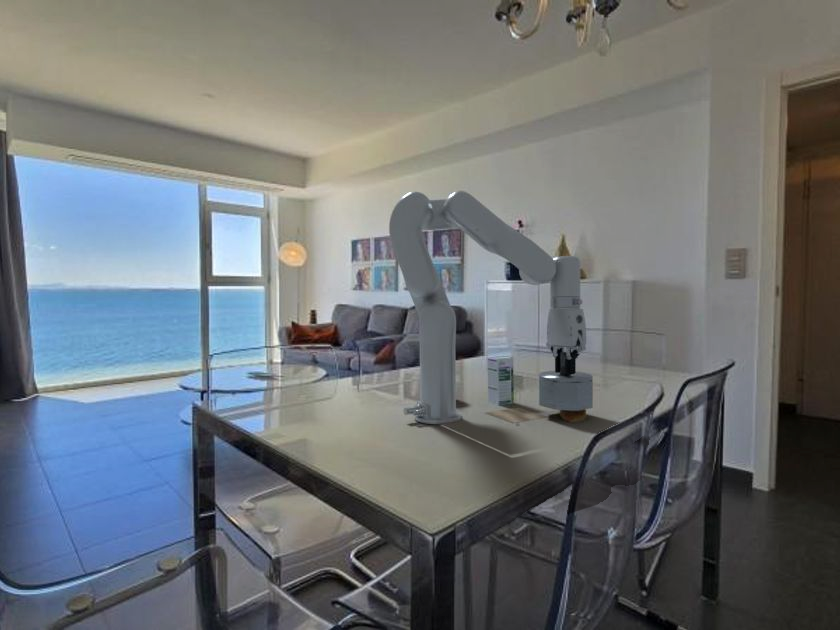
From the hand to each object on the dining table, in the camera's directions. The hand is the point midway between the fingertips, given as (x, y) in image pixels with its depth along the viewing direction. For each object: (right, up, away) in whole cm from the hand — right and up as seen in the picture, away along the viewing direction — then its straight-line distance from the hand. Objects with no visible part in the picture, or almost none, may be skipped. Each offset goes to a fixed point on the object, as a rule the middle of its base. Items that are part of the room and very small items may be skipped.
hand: (565, 372), depth 125 cm
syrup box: (-14, -12, +18) cm, 26 cm away
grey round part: (0, -8, 0) cm, 8 cm away
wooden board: (-13, -12, +3) cm, 18 cm away
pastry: (+2, -13, 0) cm, 13 cm away
